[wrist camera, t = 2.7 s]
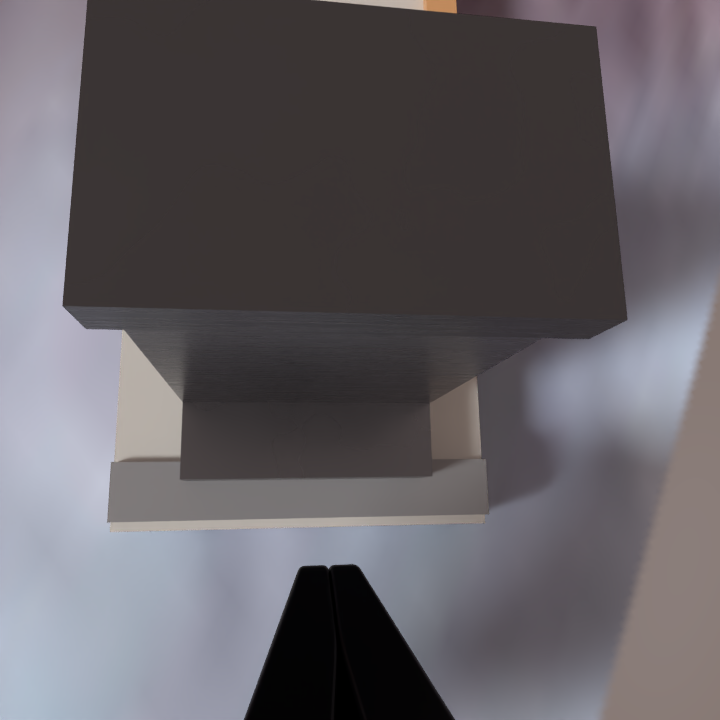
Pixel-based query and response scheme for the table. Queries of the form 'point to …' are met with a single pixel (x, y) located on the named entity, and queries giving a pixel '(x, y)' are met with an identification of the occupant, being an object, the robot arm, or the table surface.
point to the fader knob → (335, 217)
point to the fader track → (285, 497)
